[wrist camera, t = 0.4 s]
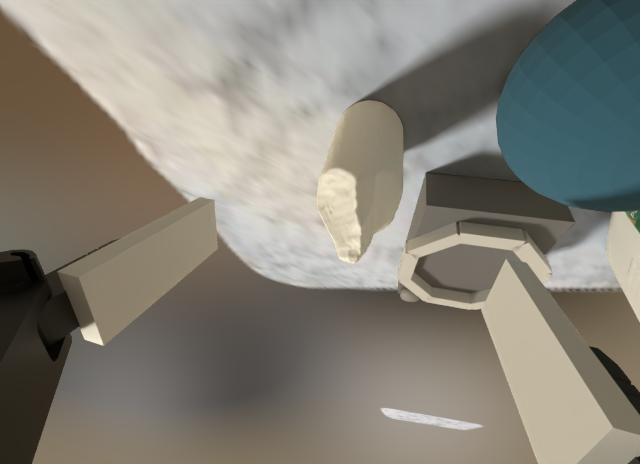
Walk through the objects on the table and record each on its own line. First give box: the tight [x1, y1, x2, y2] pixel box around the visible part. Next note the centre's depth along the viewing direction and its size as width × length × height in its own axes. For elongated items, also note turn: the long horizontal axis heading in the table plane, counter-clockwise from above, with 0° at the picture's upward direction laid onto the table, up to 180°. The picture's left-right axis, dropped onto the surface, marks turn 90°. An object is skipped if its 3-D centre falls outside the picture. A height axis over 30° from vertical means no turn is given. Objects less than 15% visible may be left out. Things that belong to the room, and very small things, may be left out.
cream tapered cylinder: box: [317, 100, 404, 264], centre depth 19 cm, size 6×12×6 cm
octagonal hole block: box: [398, 173, 575, 310], centre depth 27 cm, size 14×11×5 cm
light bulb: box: [496, 0, 640, 212], centre depth 12 cm, size 8×8×12 cm
